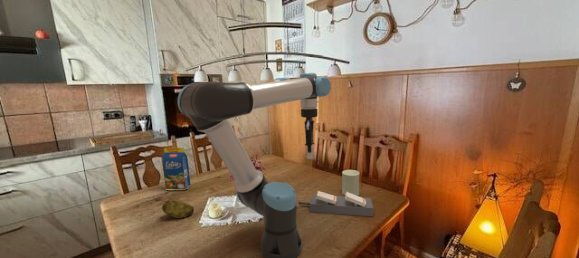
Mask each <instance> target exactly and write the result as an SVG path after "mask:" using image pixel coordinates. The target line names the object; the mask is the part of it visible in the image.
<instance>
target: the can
mask: <svg viewBox="0 0 579 258" xmlns="http://www.w3.org/2000/svg"><path fill="white" fill-rule="evenodd" d="M341 175H342V177H341V184H342V185H341V186H342V188H341V193H342V195H344V196H345V194H346V192H349V193H351V194H354V195H356V196H359V195H360V171H359V170H355V169H345V170H343V171H342V172H341Z"/></svg>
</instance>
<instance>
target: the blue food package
mask: <svg viewBox="0 0 579 258" xmlns="http://www.w3.org/2000/svg"><path fill="white" fill-rule="evenodd" d="M163 151H164V152H163V155H162V158H161V159H162V160H161V161H162V169H163V176H164V177H163V178H164V185H165V190H166V189H186V188H187V187H188V186H189V185H191V178H190V177H191V176H190V168H189V161H188V159H189V158H188V156H187V154H186V152H185V148H184V147H164V148H163Z"/></svg>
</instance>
